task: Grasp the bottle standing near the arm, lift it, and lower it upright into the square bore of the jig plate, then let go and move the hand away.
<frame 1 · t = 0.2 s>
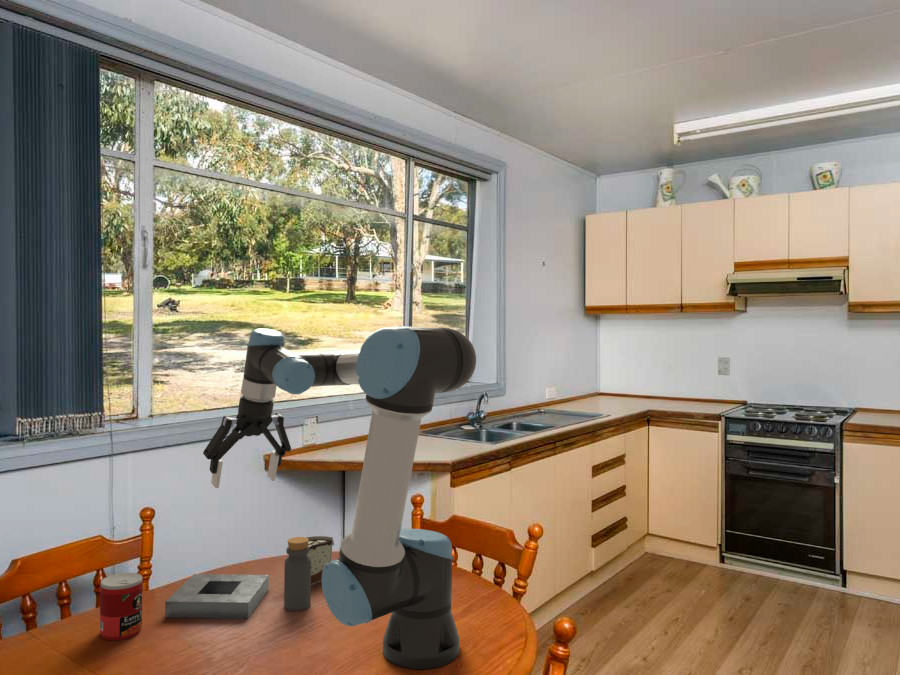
hand: (243, 481, 152), 27 cm above the table, tool tilted 15°, fingers open, 13 cm apart
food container: (307, 581, 163), on the table
jig: (219, 602, 149), on the table
canned food: (121, 633, 134), on the table
bottle: (297, 606, 148), on the table
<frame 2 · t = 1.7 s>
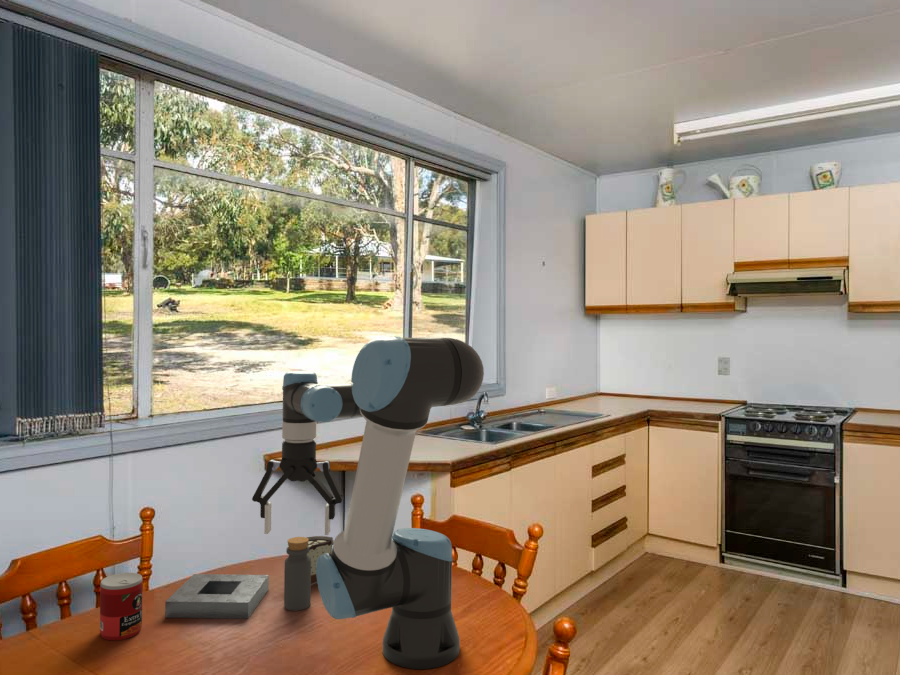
hand: (297, 532, 148), 17 cm above the table, tool pointing down, fingers open, 13 cm apart
nothing on the table moved.
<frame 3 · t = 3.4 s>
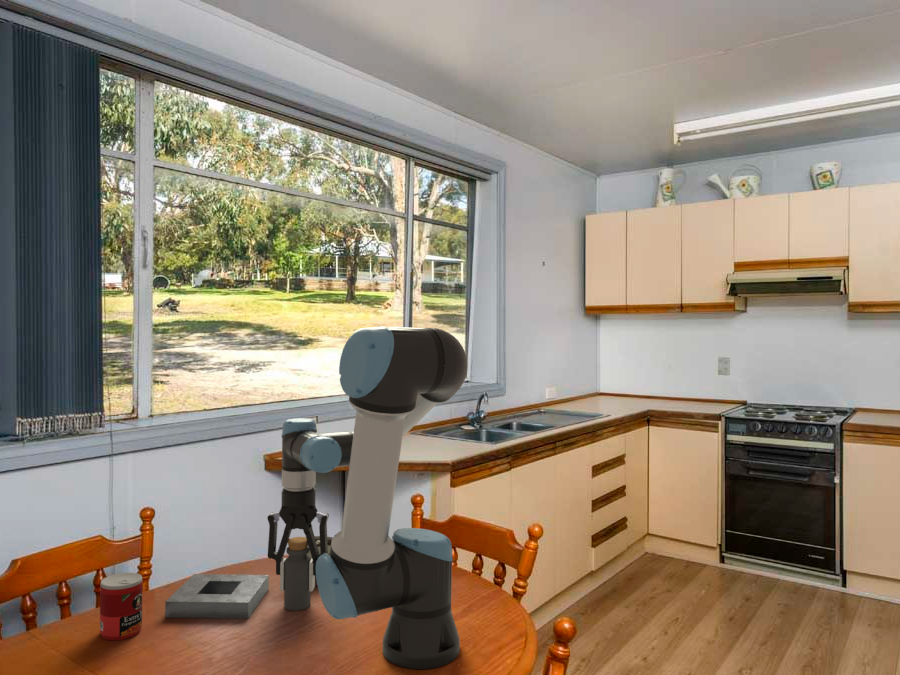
hand: (297, 588, 148), 4 cm above the table, tool pointing down, fingers closed on bottle, 6 cm apart
bottle: (297, 606, 148), on the table, touching gripper
everything else where it was.
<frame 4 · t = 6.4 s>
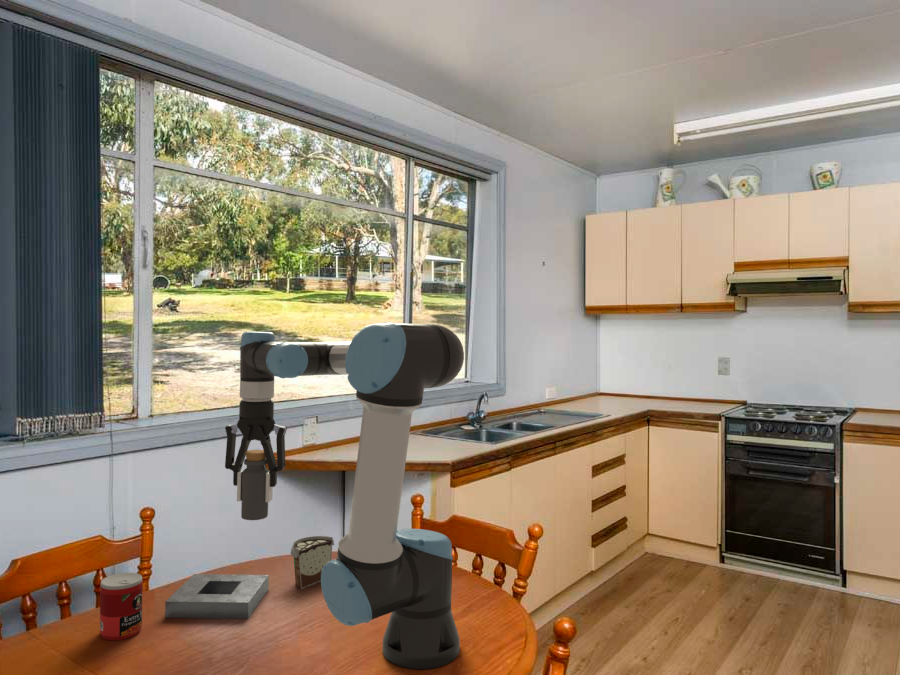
hand: (254, 499, 149), 24 cm above the table, tool pointing down, fingers closed on bottle, 6 cm apart
bottle: (254, 517, 149), point 20 cm above the table, touching gripper
everything else where it was.
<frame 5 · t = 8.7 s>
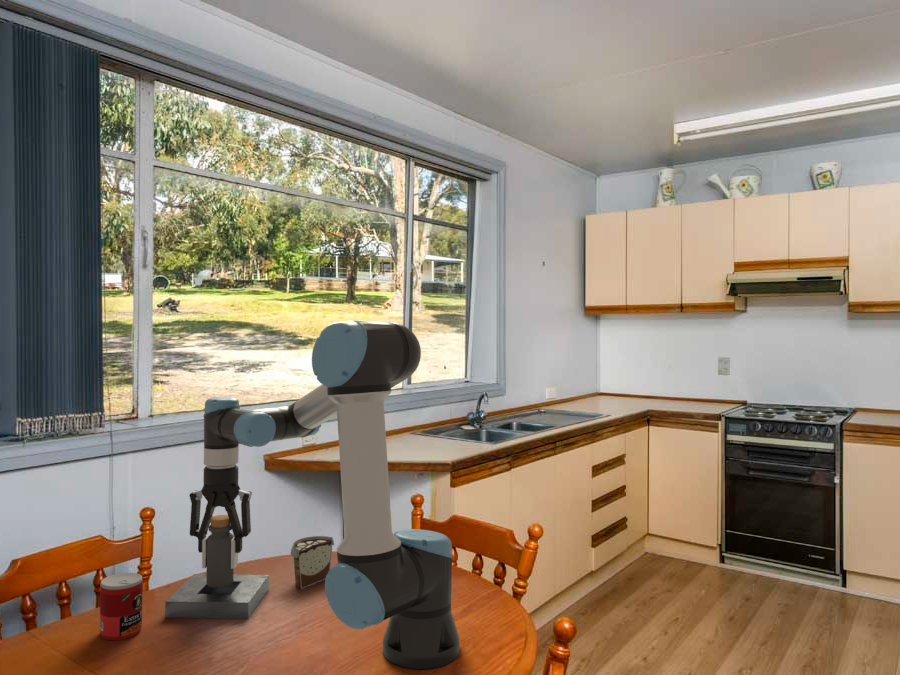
hand: (220, 566, 149), 8 cm above the table, tool pointing down, fingers closed on bottle, 6 cm apart
bottle: (219, 583, 149), point 4 cm above the table, touching gripper
everything else where it was.
when the fingers open (5 cm above the table, at t = 9.7 s): bottle drops 1 cm, resting in jig.
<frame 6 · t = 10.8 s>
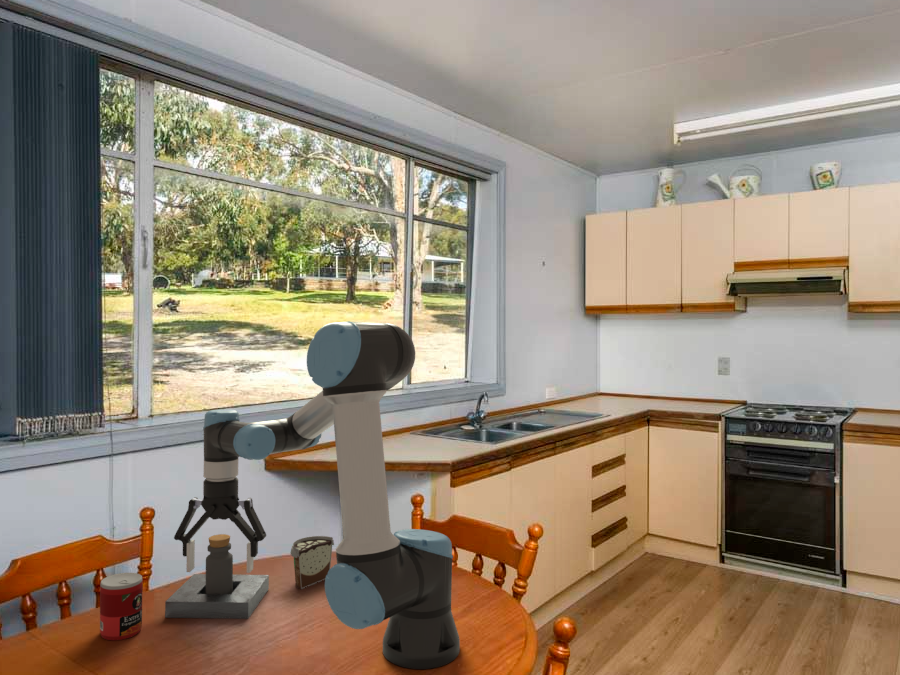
hand: (220, 570, 149), 7 cm above the table, tool pointing down, fingers open, 13 cm apart
bottle: (219, 603, 149), resting in jig
everything else where it was.
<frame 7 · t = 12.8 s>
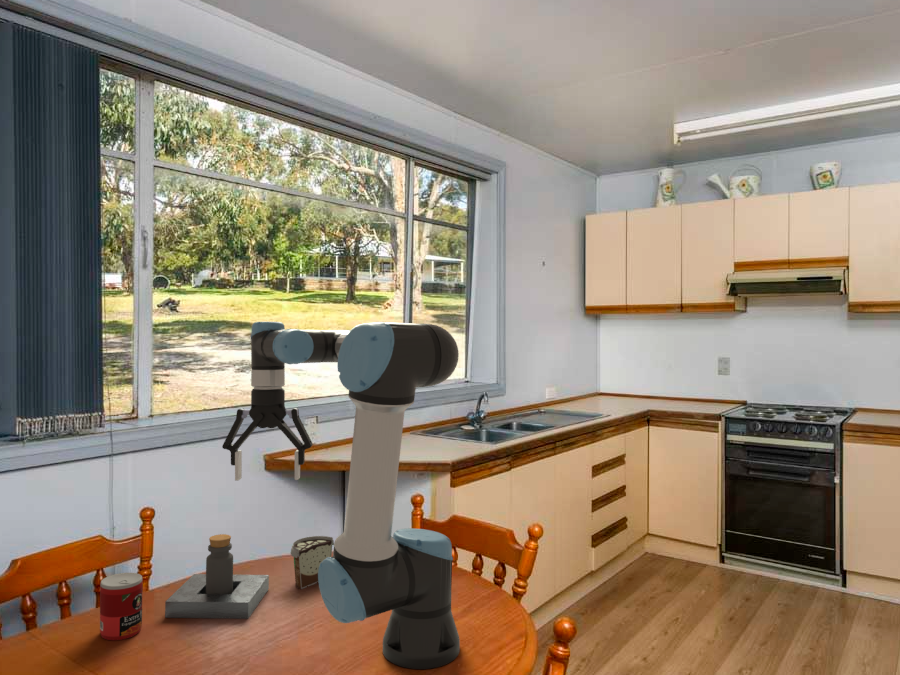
hand: (267, 479, 151), 28 cm above the table, tool pointing down, fingers open, 13 cm apart
nothing on the table moved.
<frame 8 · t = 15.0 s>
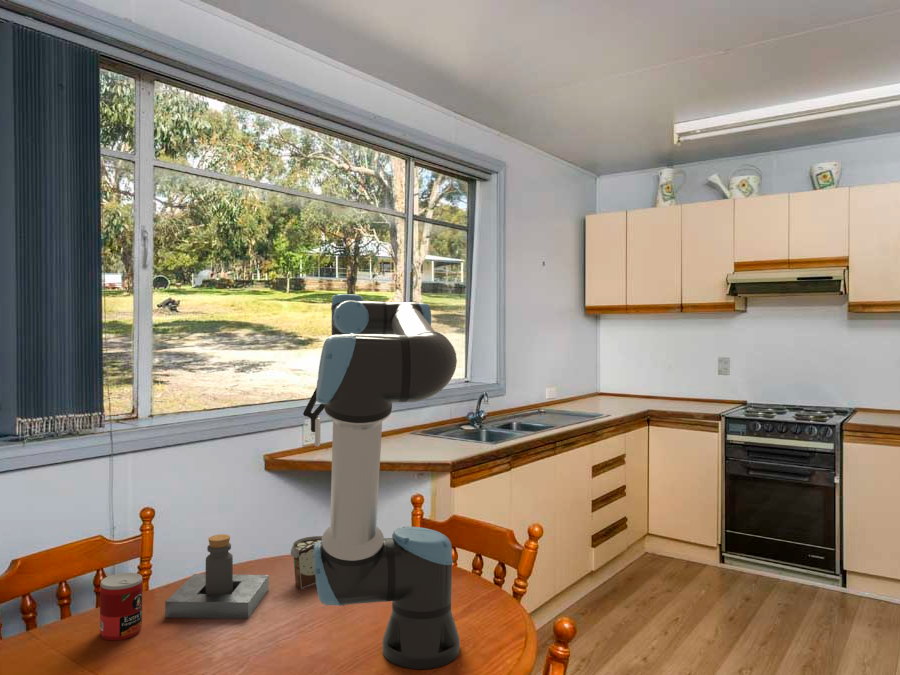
hand: (345, 446, 158), 35 cm above the table, tool pointing down, fingers open, 13 cm apart
nothing on the table moved.
at the end: bottle 0.1 cm off-centre on the jig, point 0.0 cm above the jig's base; bottle tilted 1°; the gripper is holding nothing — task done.
